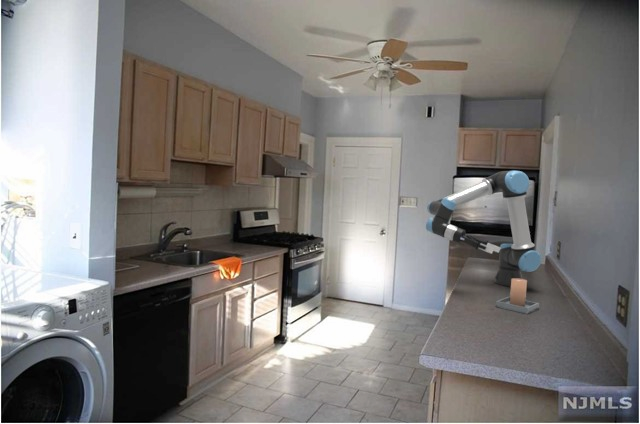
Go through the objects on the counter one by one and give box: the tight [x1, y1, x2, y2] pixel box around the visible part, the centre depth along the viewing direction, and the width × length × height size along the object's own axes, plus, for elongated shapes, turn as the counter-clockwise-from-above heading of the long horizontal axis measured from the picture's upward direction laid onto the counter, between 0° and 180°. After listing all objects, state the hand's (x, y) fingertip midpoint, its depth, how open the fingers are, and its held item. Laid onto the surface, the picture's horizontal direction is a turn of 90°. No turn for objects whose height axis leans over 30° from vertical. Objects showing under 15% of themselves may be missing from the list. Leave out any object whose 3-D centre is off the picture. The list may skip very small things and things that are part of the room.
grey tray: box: [495, 296, 540, 315], centre depth 200 cm, size 14×14×2 cm
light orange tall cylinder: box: [509, 278, 528, 307], centre depth 200 cm, size 6×6×12 cm
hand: (496, 250), depth 214 cm, fingers open, 13 cm apart
